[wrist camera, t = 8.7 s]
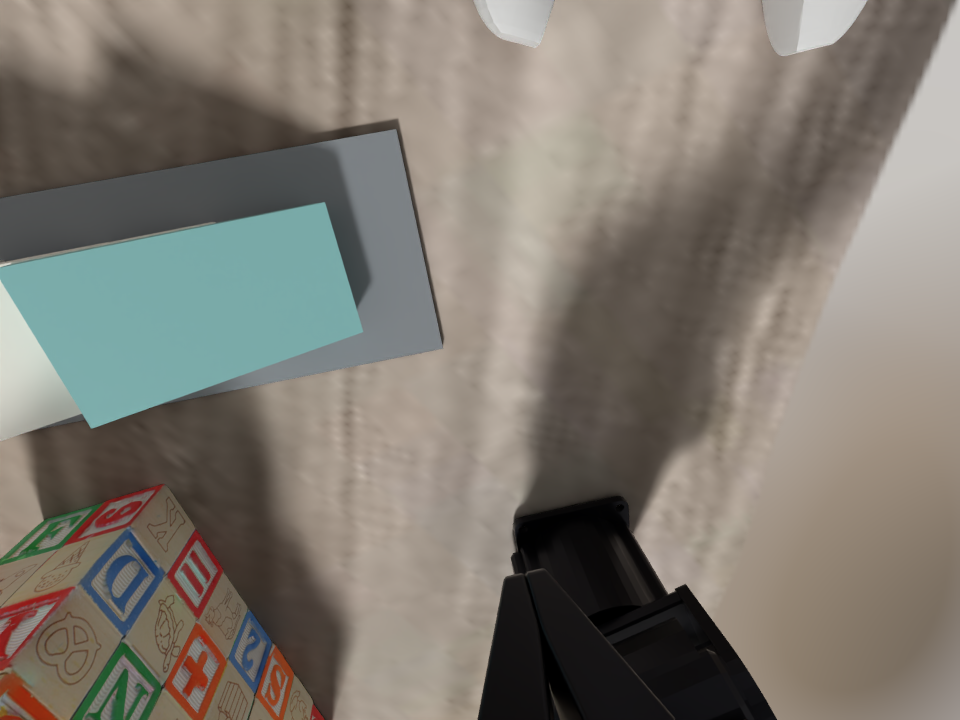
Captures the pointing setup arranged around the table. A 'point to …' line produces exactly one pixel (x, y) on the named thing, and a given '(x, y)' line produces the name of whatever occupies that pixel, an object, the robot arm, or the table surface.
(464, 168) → the table surface
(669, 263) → the table surface
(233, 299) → the domino
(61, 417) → the domino
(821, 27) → the game controller
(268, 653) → the stack of blocks
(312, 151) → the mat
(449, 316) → the table surface
